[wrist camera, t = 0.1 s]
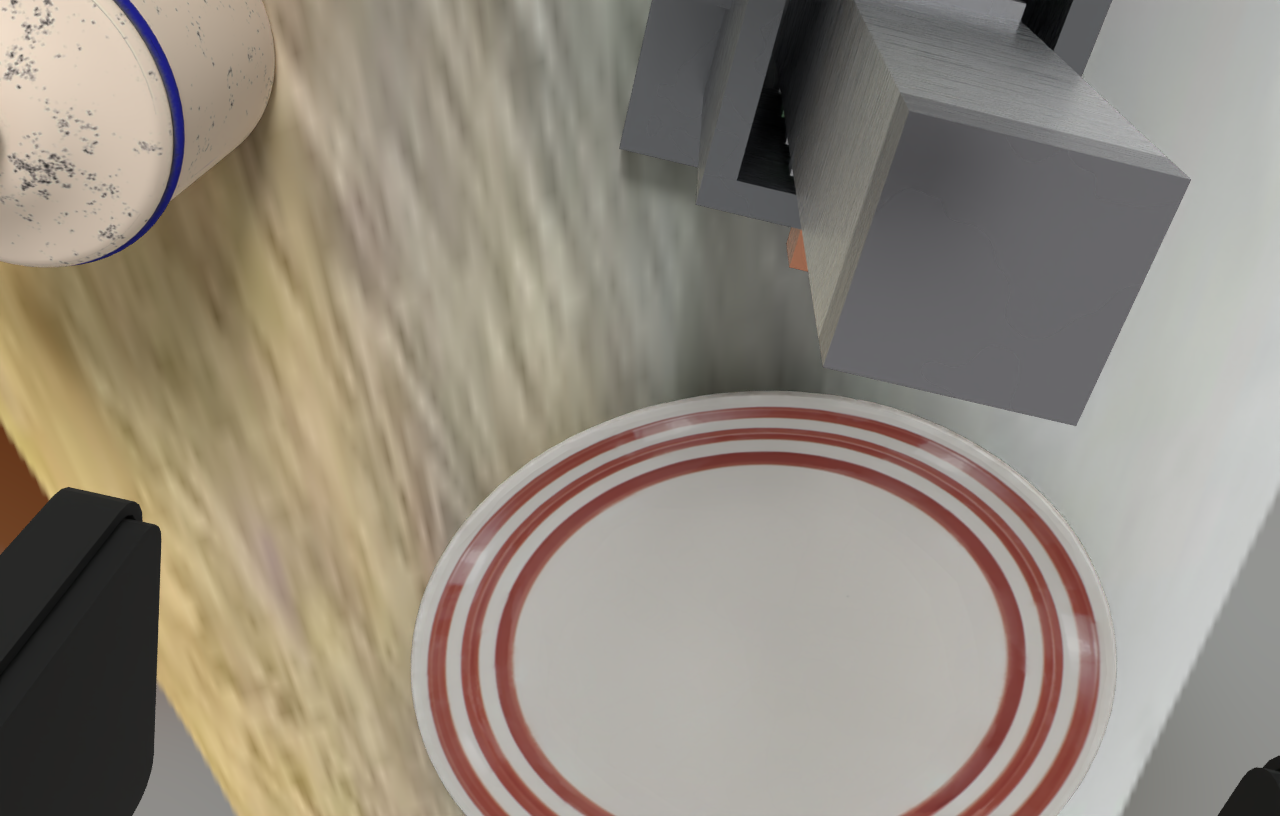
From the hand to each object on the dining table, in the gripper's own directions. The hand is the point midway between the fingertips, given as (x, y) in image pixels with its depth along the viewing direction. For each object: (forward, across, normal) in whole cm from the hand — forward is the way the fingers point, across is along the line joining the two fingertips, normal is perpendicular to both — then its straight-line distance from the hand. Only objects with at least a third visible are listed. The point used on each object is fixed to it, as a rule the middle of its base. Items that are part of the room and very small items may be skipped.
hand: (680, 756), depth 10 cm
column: (+30, -4, -2) cm, 30 cm away
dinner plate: (+32, -8, +24) cm, 41 cm away
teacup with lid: (+31, +19, +5) cm, 37 cm away
